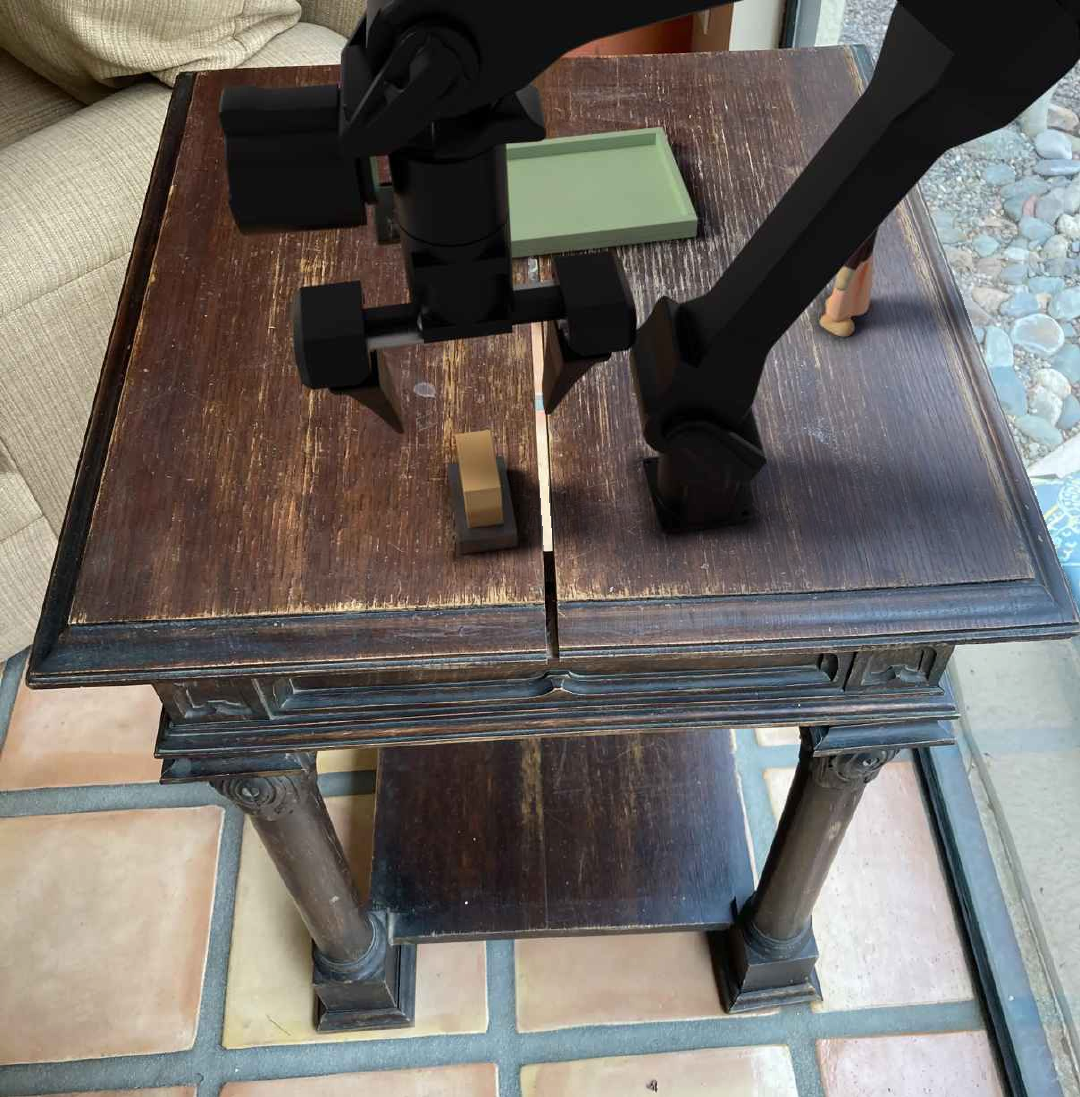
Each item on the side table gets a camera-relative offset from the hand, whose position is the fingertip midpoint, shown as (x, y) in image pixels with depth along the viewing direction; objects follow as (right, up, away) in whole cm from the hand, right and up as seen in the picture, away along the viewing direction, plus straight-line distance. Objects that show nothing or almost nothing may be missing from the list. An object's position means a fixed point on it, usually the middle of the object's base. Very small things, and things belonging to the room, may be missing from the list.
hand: (474, 418), depth 66 cm
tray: (+6, +23, +27) cm, 36 cm away
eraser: (0, -5, +8) cm, 9 cm away
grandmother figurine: (+28, +11, +19) cm, 36 cm away
